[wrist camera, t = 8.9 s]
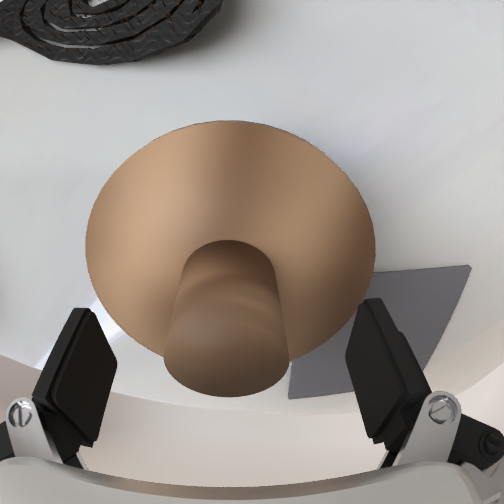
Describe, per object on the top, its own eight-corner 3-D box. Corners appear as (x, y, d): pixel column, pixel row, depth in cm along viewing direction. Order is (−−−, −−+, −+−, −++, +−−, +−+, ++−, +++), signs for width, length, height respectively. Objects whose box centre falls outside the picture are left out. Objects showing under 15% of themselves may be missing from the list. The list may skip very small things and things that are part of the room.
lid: (383, 123, 11) (470, 161, 6) (345, 349, 17) (368, 426, 13) (66, 143, 10) (-20, 192, 6) (133, 357, 17) (114, 434, 12)
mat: (468, 264, 21) (471, 268, 21) (416, 374, 29) (418, 378, 28) (300, 277, 21) (302, 281, 20) (288, 395, 28) (288, 399, 28)
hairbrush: (-76, 9, 4) (244, -87, 6) (-47, 7, 7) (247, -57, 9) (-88, 104, 8) (206, 66, 11) (-59, 93, 12) (217, 70, 14)
